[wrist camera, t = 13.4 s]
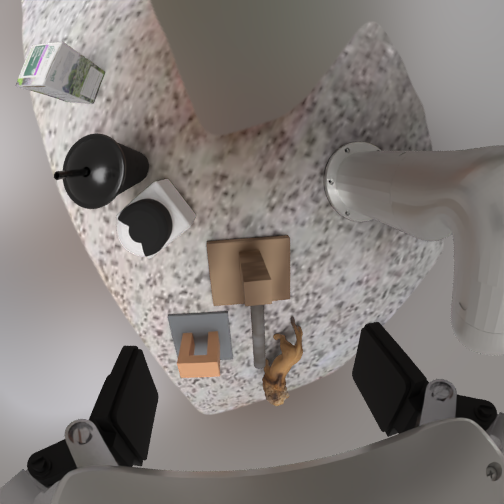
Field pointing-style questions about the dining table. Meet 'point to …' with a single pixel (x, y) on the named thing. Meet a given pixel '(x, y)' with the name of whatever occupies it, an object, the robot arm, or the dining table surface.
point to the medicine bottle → (153, 219)
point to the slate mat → (202, 331)
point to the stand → (251, 278)
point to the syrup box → (60, 73)
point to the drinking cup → (100, 170)
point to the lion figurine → (282, 367)
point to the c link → (199, 357)
